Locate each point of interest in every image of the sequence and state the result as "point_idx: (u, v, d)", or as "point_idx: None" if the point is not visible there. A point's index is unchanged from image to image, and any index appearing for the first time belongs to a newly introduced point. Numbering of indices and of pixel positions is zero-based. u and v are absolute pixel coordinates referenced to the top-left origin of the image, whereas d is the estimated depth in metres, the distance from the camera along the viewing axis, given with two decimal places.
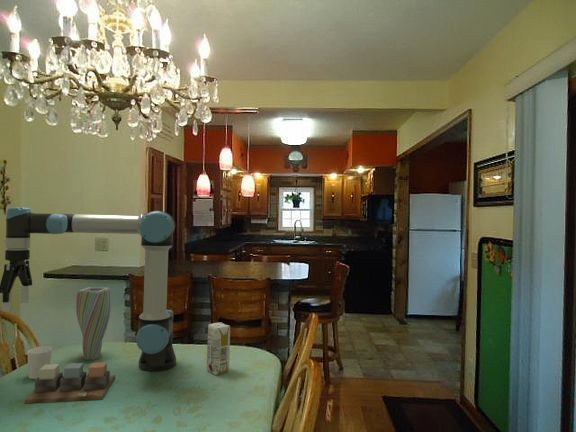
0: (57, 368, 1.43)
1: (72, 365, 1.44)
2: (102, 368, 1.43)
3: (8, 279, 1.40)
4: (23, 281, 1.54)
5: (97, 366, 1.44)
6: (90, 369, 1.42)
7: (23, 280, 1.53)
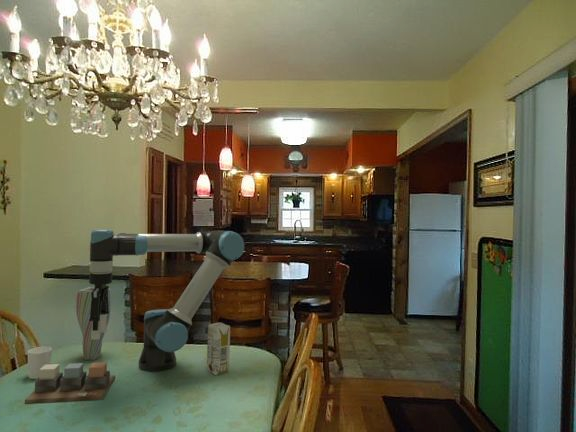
0: (57, 368, 1.43)
1: (72, 365, 1.44)
2: (102, 368, 1.43)
3: (97, 307, 1.39)
4: (102, 308, 1.49)
5: (97, 366, 1.44)
6: (90, 369, 1.42)
7: (102, 306, 1.49)
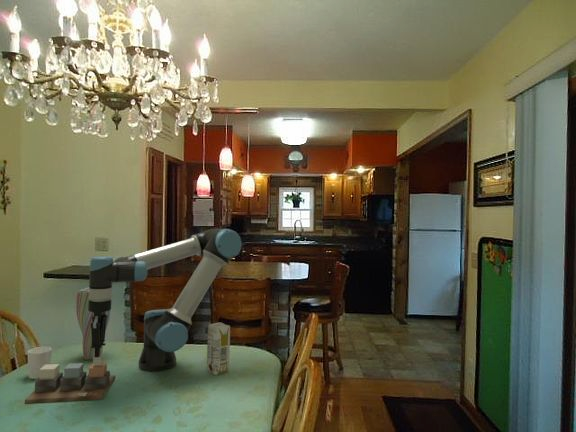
0: (57, 368, 1.43)
1: (72, 365, 1.44)
2: (102, 369, 1.43)
3: (98, 337, 1.41)
4: None
5: (97, 367, 1.44)
6: (90, 370, 1.42)
7: None
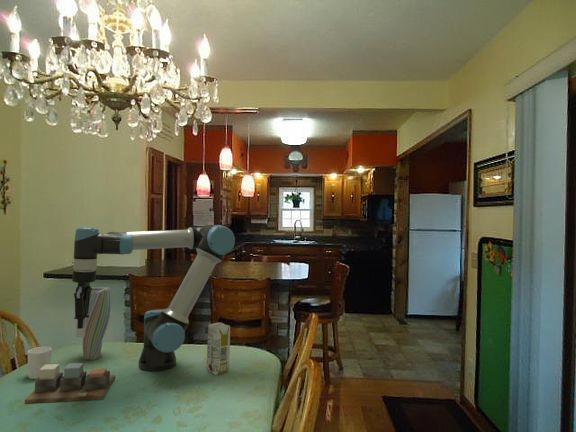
0: (57, 368, 1.43)
1: (72, 365, 1.44)
2: (102, 374, 1.43)
3: (81, 307, 1.40)
4: None
5: (97, 372, 1.44)
6: (90, 375, 1.42)
7: None
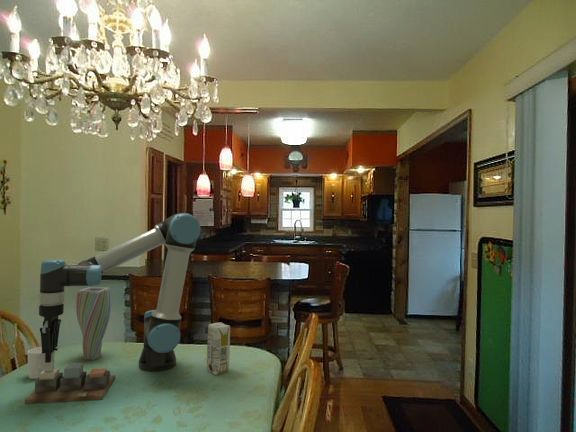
0: (57, 372, 1.43)
1: (72, 365, 1.44)
2: (102, 374, 1.43)
3: (48, 342, 1.38)
4: None
5: (97, 372, 1.44)
6: (90, 375, 1.42)
7: None
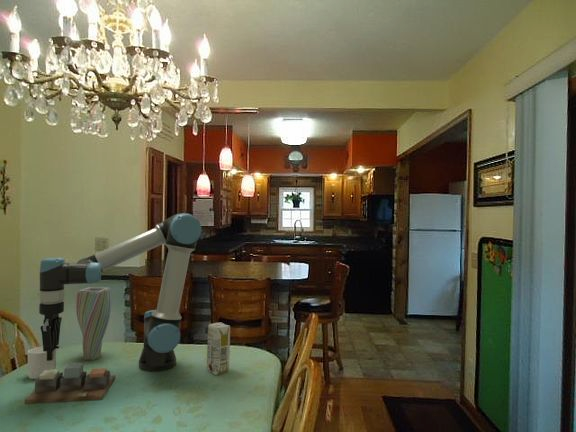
0: (57, 374, 1.43)
1: (72, 365, 1.44)
2: (102, 374, 1.43)
3: (49, 340, 1.38)
4: None
5: (97, 372, 1.44)
6: (90, 375, 1.42)
7: None
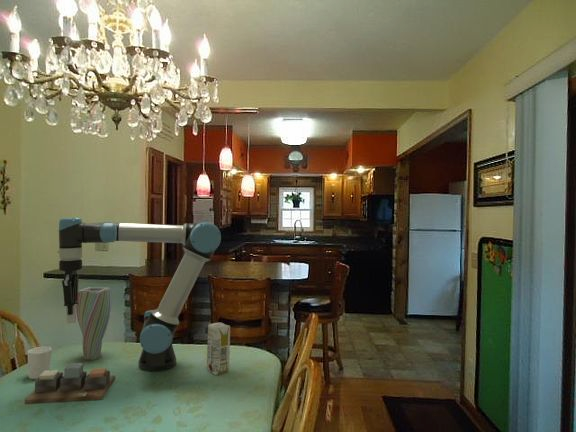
0: (57, 374, 1.43)
1: (72, 365, 1.44)
2: (102, 374, 1.43)
3: (70, 294, 1.45)
4: None
5: (97, 372, 1.44)
6: (90, 375, 1.42)
7: None
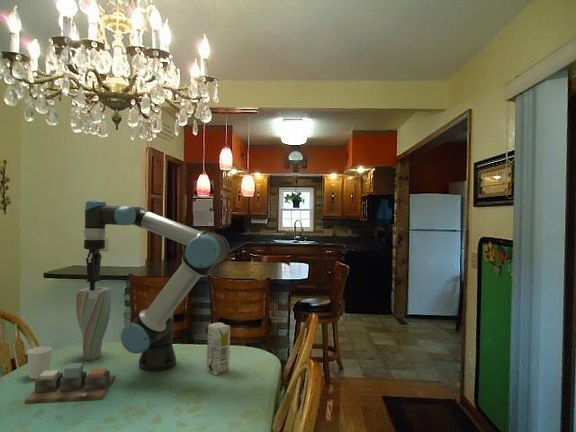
0: (57, 374, 1.43)
1: (72, 365, 1.44)
2: (102, 374, 1.43)
3: (93, 271, 1.57)
4: None
5: (97, 372, 1.44)
6: (90, 375, 1.42)
7: None
